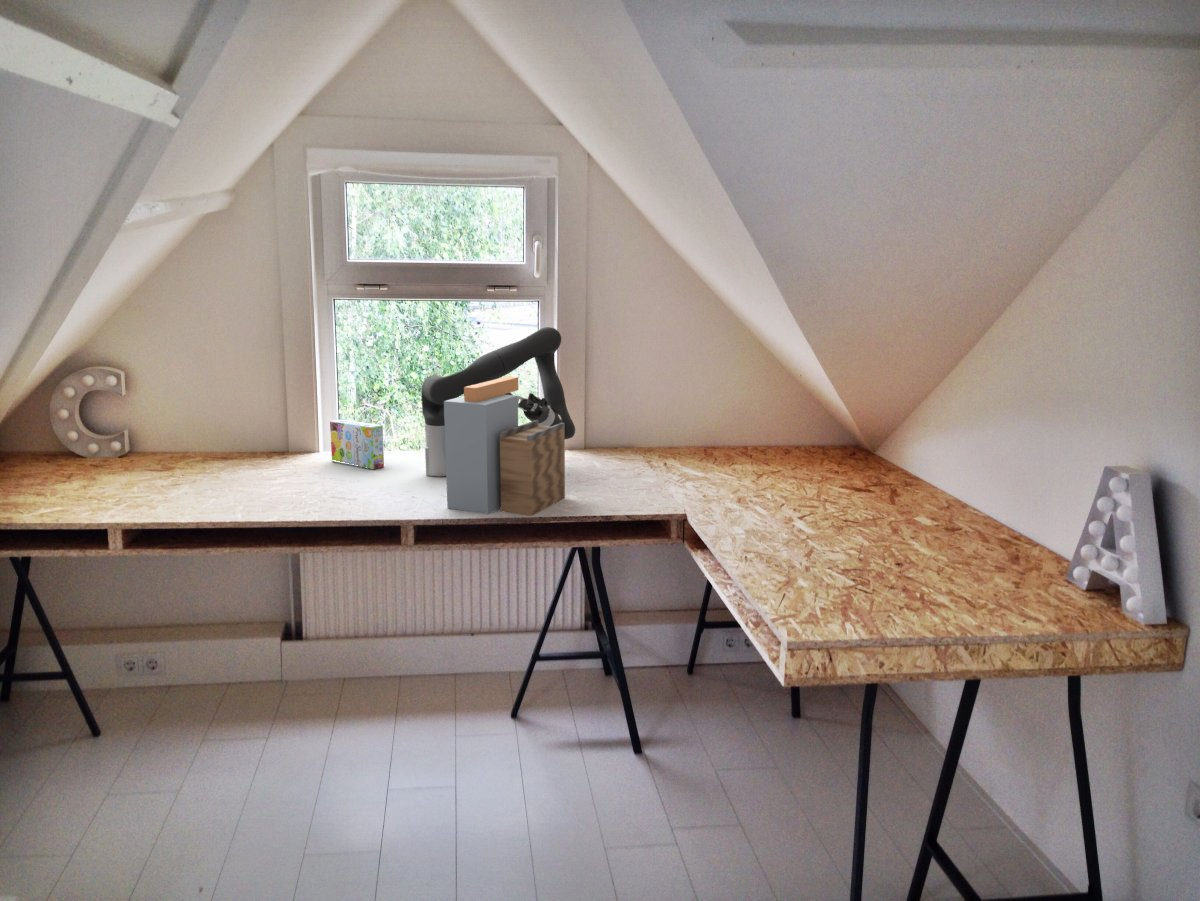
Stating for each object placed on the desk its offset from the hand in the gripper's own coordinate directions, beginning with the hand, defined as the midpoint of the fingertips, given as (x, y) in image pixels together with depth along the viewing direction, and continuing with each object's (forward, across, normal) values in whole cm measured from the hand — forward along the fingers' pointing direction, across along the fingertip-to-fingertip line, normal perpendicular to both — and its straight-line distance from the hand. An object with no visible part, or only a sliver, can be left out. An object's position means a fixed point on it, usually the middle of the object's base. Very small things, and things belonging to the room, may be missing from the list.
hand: (517, 394), depth 294 cm
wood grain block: (-2, +14, +34) cm, 36 cm away
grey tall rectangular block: (+3, 0, +36) cm, 37 cm away
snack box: (-17, -66, +25) cm, 73 cm away
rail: (+14, 0, +6) cm, 15 cm away
